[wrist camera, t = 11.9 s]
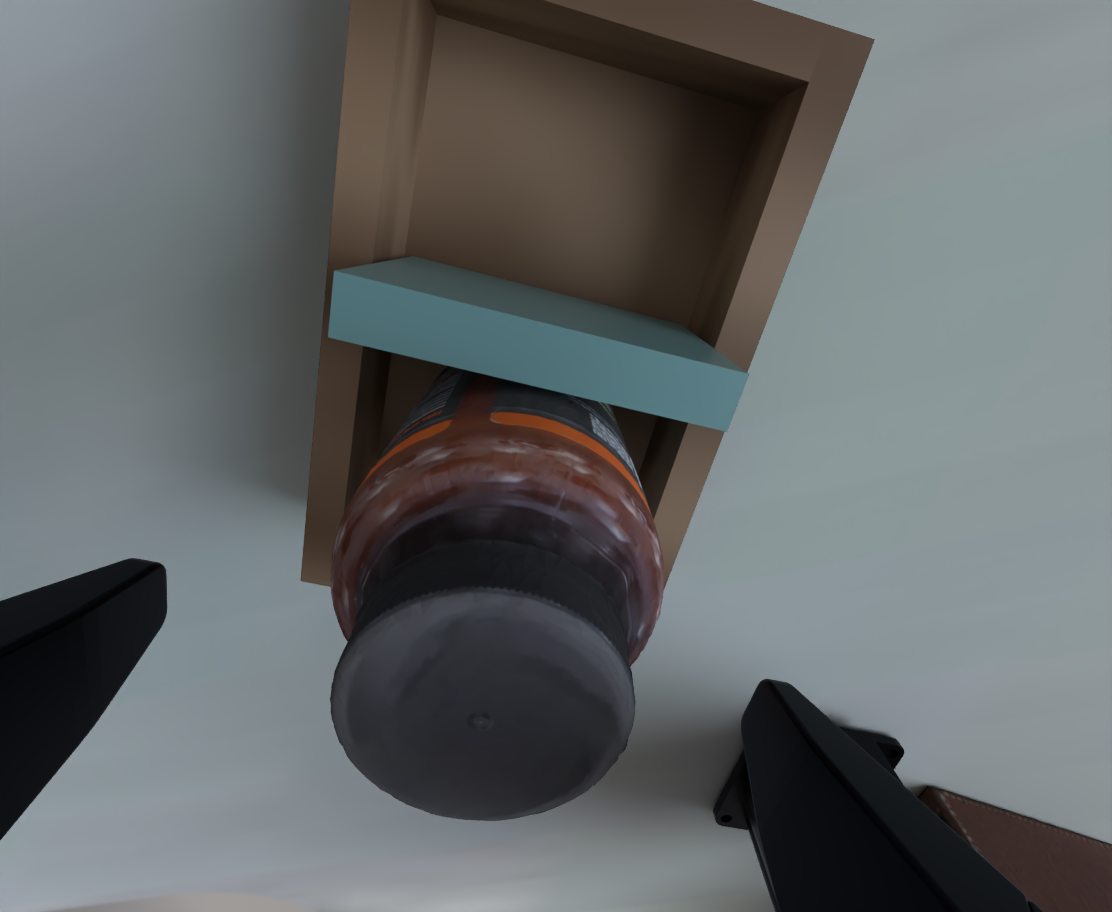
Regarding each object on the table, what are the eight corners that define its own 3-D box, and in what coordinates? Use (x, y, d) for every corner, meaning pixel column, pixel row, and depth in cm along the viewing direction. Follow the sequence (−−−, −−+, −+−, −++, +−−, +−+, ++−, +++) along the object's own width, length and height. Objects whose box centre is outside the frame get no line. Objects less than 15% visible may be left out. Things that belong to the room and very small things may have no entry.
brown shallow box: (625, 572, 21) (641, 646, 17) (347, 515, 20) (300, 580, 16) (794, 86, 15) (875, 39, 11) (411, -31, 14) (361, -125, 10)
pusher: (667, 363, 16) (726, 432, 11) (407, 299, 16) (327, 337, 10) (680, 324, 16) (749, 373, 10) (413, 256, 15) (333, 270, 10)
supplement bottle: (408, 485, 18) (216, 829, 8) (448, 308, 16) (259, 451, 6) (580, 531, 19) (618, 902, 8) (640, 367, 17) (792, 591, 6)
